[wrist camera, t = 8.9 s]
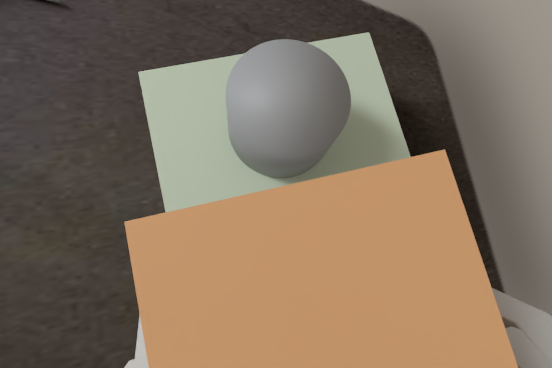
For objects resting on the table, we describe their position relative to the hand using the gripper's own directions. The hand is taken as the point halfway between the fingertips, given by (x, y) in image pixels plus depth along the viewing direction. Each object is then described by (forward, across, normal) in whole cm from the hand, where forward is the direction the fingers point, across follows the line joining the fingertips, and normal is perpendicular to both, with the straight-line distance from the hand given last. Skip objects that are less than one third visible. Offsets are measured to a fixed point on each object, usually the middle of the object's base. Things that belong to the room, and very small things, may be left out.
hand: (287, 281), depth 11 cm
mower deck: (+17, -3, +11) cm, 21 cm away
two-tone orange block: (+4, 0, +5) cm, 6 cm away
